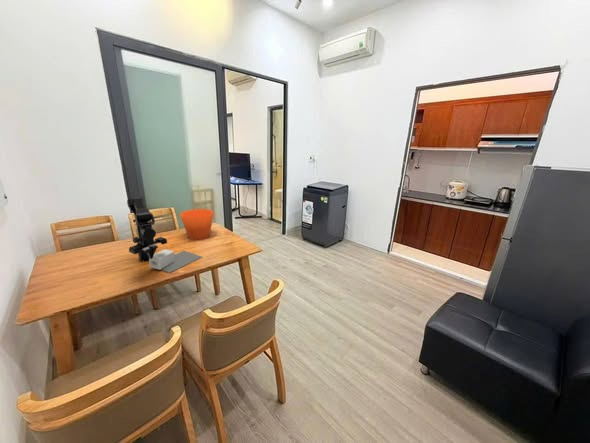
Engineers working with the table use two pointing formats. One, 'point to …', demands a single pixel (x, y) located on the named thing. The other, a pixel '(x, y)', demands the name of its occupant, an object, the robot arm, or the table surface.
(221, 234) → the table surface
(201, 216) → the flowerpot
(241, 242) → the table surface
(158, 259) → the supplement box
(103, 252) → the table surface
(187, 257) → the mat
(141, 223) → the robot arm
